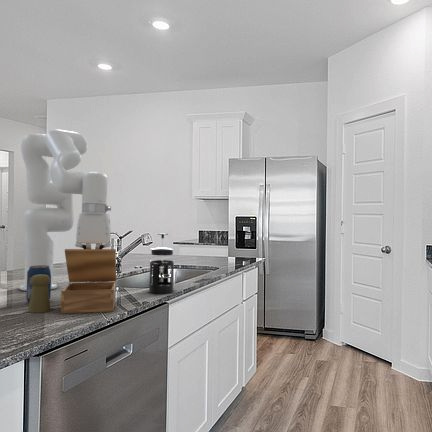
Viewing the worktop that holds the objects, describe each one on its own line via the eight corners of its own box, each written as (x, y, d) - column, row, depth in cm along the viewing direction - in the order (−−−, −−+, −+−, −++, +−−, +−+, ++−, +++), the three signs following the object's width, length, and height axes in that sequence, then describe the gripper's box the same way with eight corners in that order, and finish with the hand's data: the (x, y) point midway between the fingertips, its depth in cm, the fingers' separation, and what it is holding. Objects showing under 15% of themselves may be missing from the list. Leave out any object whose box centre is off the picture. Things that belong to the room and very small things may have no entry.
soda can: (52, 300, 147) (53, 265, 147) (47, 304, 140) (48, 267, 140) (29, 300, 145) (30, 265, 145) (23, 304, 138) (24, 267, 138)
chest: (113, 311, 133) (113, 289, 133) (60, 313, 128) (61, 291, 128) (115, 301, 148) (116, 281, 148) (68, 303, 143) (69, 282, 143)
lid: (115, 251, 137) (115, 249, 137) (64, 250, 132) (64, 248, 132) (116, 281, 148) (116, 279, 148) (69, 282, 143) (69, 280, 143)
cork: (40, 313, 128) (41, 276, 128) (23, 311, 129) (24, 275, 129) (55, 309, 134) (56, 274, 134) (38, 307, 135) (39, 272, 135)
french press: (155, 288, 174) (156, 232, 174) (177, 290, 173) (179, 233, 173) (142, 294, 162) (144, 233, 162) (166, 295, 161) (168, 234, 161)
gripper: (118, 210, 148) (117, 263, 148) (70, 208, 143) (69, 263, 143) (118, 210, 141) (116, 265, 141) (67, 208, 136) (65, 266, 136)
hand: (92, 264), depth 142 cm, fingers closed
